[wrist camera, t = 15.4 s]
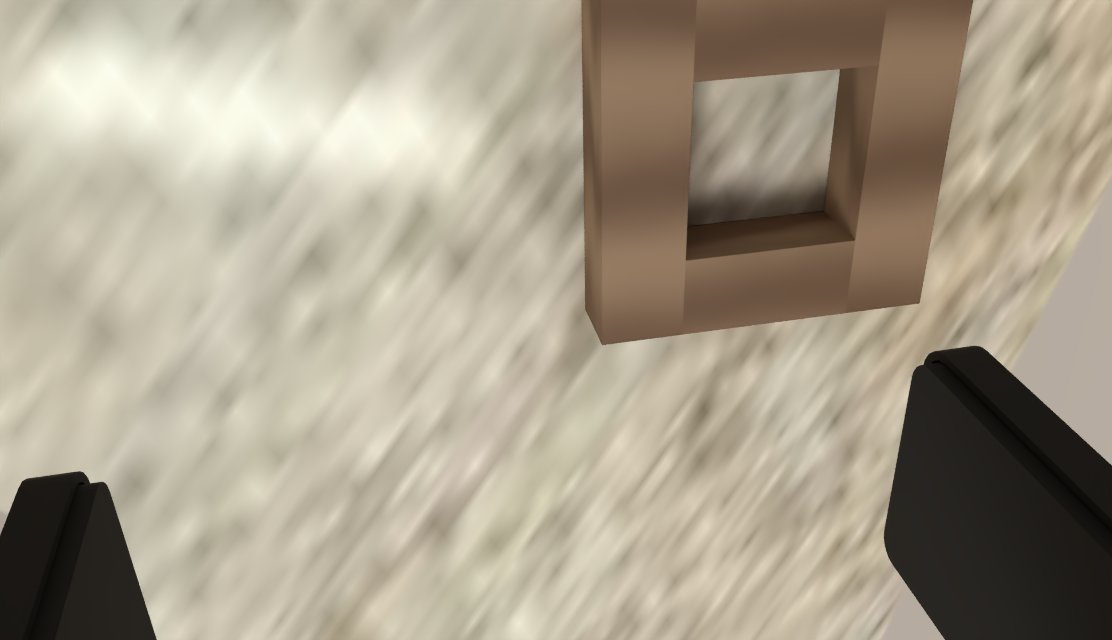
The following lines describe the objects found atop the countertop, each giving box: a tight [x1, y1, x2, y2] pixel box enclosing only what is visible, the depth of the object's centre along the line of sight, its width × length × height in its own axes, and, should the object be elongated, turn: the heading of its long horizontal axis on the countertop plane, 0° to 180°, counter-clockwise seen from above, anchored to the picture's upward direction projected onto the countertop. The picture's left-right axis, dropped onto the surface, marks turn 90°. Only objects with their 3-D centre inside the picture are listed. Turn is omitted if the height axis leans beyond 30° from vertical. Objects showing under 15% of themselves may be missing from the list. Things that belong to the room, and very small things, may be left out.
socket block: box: [582, 0, 973, 345], centre depth 40 cm, size 14×14×3 cm
